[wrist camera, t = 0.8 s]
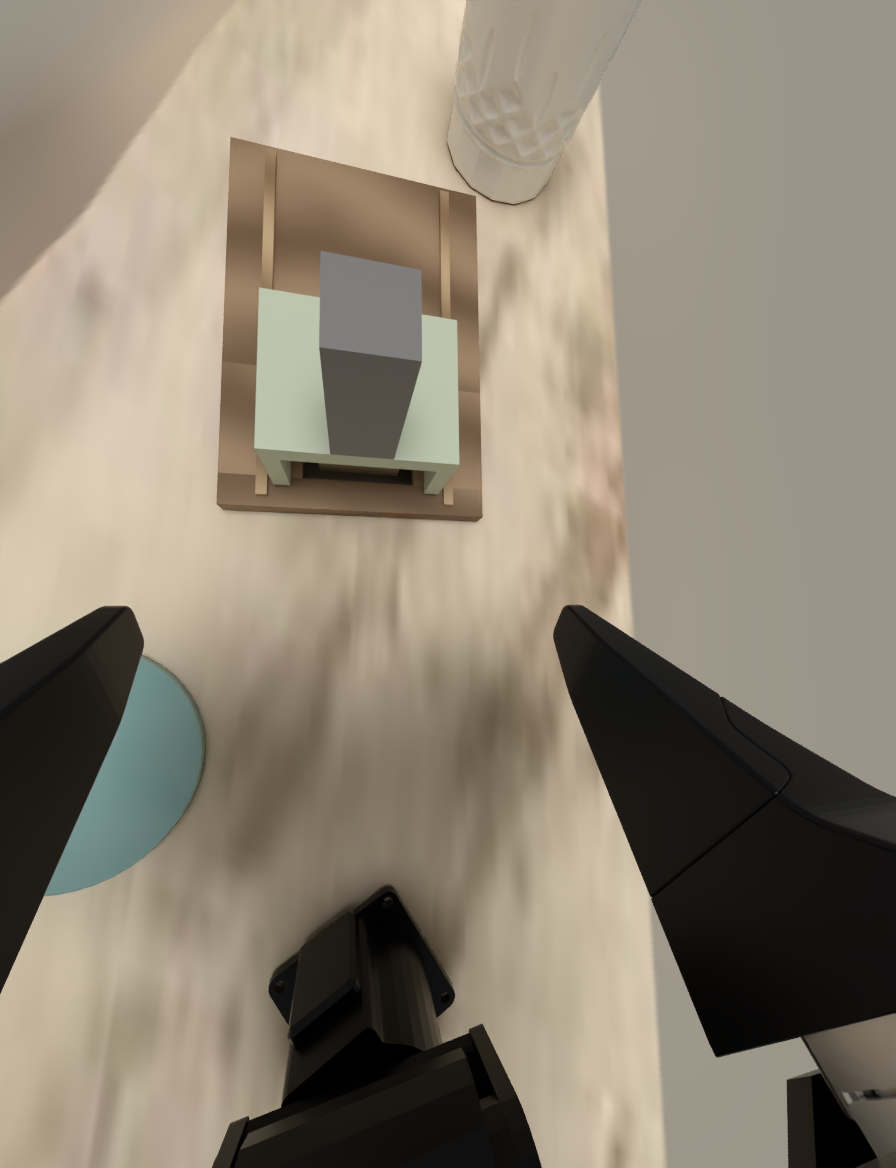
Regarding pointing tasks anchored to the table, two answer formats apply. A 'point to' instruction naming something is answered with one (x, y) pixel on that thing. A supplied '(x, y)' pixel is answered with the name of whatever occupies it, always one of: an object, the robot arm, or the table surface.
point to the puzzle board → (292, 264)
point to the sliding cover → (357, 375)
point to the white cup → (527, 86)
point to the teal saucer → (136, 782)
